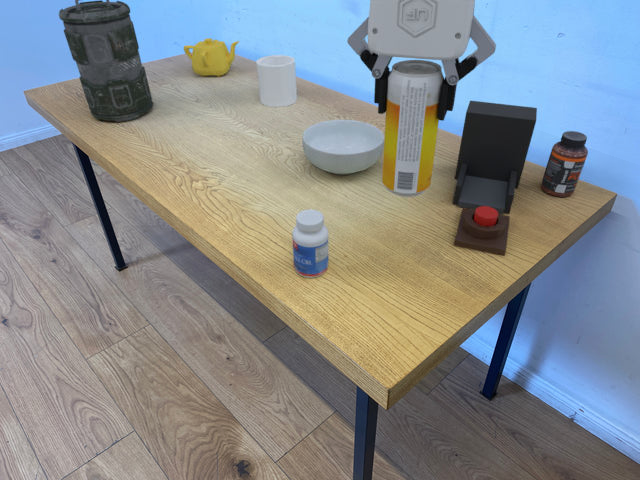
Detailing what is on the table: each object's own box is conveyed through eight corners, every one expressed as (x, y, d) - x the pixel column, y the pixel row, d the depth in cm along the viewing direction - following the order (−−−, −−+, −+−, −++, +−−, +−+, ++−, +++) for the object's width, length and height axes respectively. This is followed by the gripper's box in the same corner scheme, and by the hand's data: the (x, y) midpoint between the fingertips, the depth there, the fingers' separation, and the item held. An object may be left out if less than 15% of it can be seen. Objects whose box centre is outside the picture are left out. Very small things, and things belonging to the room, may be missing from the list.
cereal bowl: (393, 180, 95) (396, 148, 90) (312, 191, 92) (311, 158, 88) (368, 143, 108) (369, 114, 103) (297, 152, 105) (295, 122, 101)
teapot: (225, 63, 158) (220, 30, 151) (243, 73, 149) (239, 39, 143) (186, 72, 151) (180, 38, 145) (204, 82, 143) (198, 47, 137)
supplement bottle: (566, 201, 87) (586, 145, 80) (534, 190, 90) (551, 136, 84) (578, 189, 91) (598, 134, 84) (547, 179, 94) (564, 125, 87)
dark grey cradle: (519, 174, 95) (536, 107, 87) (515, 216, 84) (535, 144, 75) (458, 165, 99) (470, 100, 90) (446, 204, 87) (458, 134, 79)
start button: (496, 216, 79) (499, 208, 78) (495, 228, 77) (497, 220, 75) (474, 213, 80) (476, 204, 79) (472, 224, 78) (474, 215, 77)
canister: (104, 129, 117) (64, 6, 100) (83, 110, 127) (45, -5, 110) (163, 112, 125) (136, -5, 108) (140, 96, 135) (112, -14, 118)
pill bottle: (286, 268, 74) (282, 217, 68) (310, 252, 77) (308, 201, 71) (312, 284, 71) (310, 232, 65) (335, 266, 74) (335, 215, 68)
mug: (263, 89, 137) (260, 51, 131) (298, 89, 137) (297, 51, 130) (257, 107, 126) (253, 67, 120) (295, 107, 126) (293, 66, 120)
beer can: (427, 175, 62) (441, 58, 53) (432, 199, 57) (448, 76, 48) (381, 174, 63) (387, 58, 54) (382, 198, 58) (389, 76, 49)
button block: (508, 221, 82) (512, 207, 81) (504, 255, 75) (508, 241, 73) (461, 213, 85) (464, 199, 83) (453, 245, 77) (456, 230, 76)
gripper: (327, -71, 43) (331, 117, 54) (529, -73, 38) (488, 135, 49) (352, -77, 49) (350, 94, 60) (530, -79, 44) (493, 108, 54)
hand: (412, 111), depth 54 cm, fingers closed on beer can, 6 cm apart
